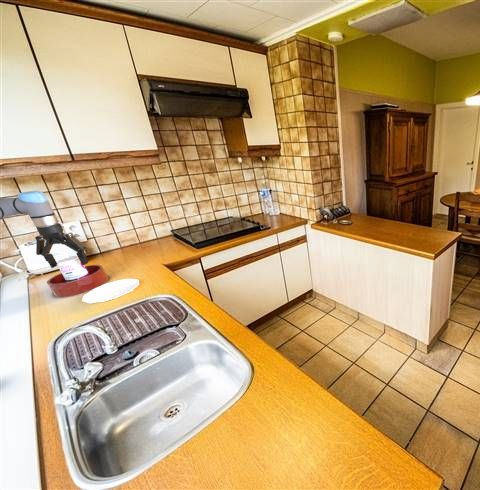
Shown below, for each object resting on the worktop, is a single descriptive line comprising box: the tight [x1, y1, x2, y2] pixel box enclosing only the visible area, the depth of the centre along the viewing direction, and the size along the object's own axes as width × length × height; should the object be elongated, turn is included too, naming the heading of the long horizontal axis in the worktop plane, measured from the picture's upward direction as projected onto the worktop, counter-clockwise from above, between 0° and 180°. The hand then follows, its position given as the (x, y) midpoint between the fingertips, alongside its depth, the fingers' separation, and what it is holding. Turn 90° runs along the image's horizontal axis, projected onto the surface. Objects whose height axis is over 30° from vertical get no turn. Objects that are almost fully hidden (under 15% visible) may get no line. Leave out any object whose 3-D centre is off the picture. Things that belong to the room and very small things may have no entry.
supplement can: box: [56, 255, 89, 282], centre depth 133 cm, size 8×8×15 cm
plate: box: [81, 278, 140, 304], centre depth 128 cm, size 21×21×2 cm
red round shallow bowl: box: [46, 264, 109, 298], centre depth 135 cm, size 20×20×7 cm
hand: (70, 265), depth 131 cm, fingers open, 13 cm apart
